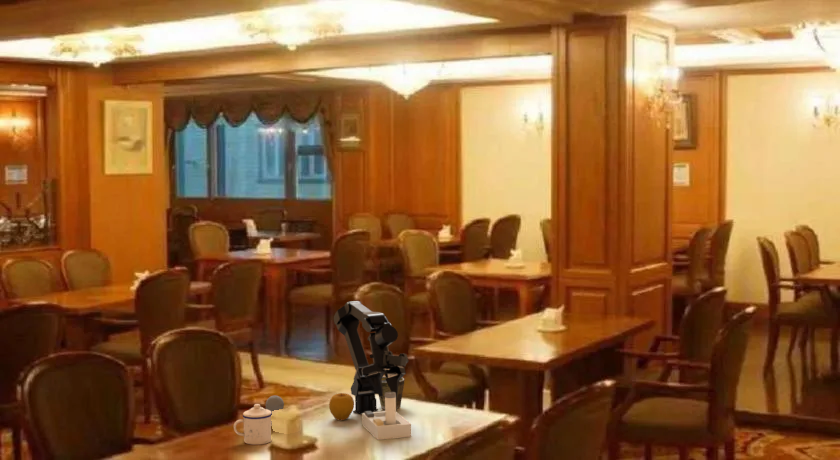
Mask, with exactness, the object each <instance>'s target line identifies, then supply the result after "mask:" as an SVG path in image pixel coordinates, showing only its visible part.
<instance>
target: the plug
mask: <svg viewBox="0 0 840 460" xmlns="http://www.w3.org/2000/svg"><path fill="white" fill-rule="evenodd" d="M384 411H385V425H394V424H396V412H397V409H396V393H395V392H386V393H385V409H384Z"/></svg>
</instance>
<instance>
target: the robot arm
mask: <svg viewBox="0 0 840 460" xmlns="http://www.w3.org/2000/svg"><path fill="white" fill-rule="evenodd" d="M385 315H386V314H385V313H383V312H380V311H372V310H371V309H369V308H368V307H366V306H365V305H363V304H362V301H359V300H353V301H352V300H351V301H347V302H346V303H345V304H344V305H343V306H341V307H340V308H337V311H336V312H335V313H334V315H333V322H334V325H335V326H336V329H337V330H338V332H339V333H341V334H342V335H343V336H344V337H345V342H346V344H347V347H348V350H349V353H350V356H351V360H352V362H353V367H354V369H355V373H354V376H353V382H352V385H351V386H350V393H351V394H350V395H351V396H352V395H353V396H354V398H355V399H354V408H355V410H354V409H353V411H352V413H356V414H362V413H365V411H371V412H378V410H379V408H377V398H376V395H378V397H379V396H383V388H382V377H386V382H387V384H388V386H389V388H390V390H391V392H395V393H396V397H397V395H398V387H399V381H400V379H401V378H404V376H405V375H406V373H407V372H406V369H405V367H407V366H406V365H407V364H408V363H409V359H408V355H407V353H399V355H394V354H393V352H392V351H391V350H390V349H389V346H390V345H392V344H393V343H394V342H395V341H396V340H398V336H399V333H398V332H399V331H397V329H396V328H395V327H394V326H392V324H391V322H390V321H389V320H388V318H387V316H385ZM360 322H361V323H362V324H361V326H362V328H363V330H365V331H366V332H368V333H369V335H368V337H367V341H369V344H370V351H371V354H369V359H372V361H373V362H372V363H371V364H369V362H368V358H367V355H366V353H365V350H364V349H365V348H364V346H363V343H362V340H361V338H360V334H359V332H358V330H359V329H358V328H359V326H360Z"/></svg>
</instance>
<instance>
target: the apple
mask: <svg viewBox="0 0 840 460" xmlns="http://www.w3.org/2000/svg"><path fill="white" fill-rule="evenodd" d="M328 405H329V411H330V413H331V415H332V416H333V417H334V419H335V420H336V421H345V420H347V419H348V418H349V417H350V415H351V414H352V413H353V411H354V408H355V399H354V397H353V396H352V394H348V393H345V392H344V393H342V392H341V393H336V394H334V395H332V396H331V398H330V400H329V404H328Z"/></svg>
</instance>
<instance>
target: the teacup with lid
mask: <svg viewBox="0 0 840 460" xmlns="http://www.w3.org/2000/svg"><path fill="white" fill-rule="evenodd" d="M271 415H272V412H271V411H270V410H267V409H266V408H264V407H262V406H261V404H259V403H255V404H254V405H253V407H251V408H249V409H248V410H245V411H244V412H243V413H242V417H243V419H237V420H236V421H234V423H233V431H234V432H235V433H236V434H237V435H238V436H242V437H243V441H244V443H246V444H248V445H255V446H258V445H259V446H260V445H265V444H268V443H270V442H271V441H272V440H271V426H273V425H272V421H271ZM240 423H243V432H239V431H238V430H237V425H238V424H240ZM270 440H271V441H270Z"/></svg>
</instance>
